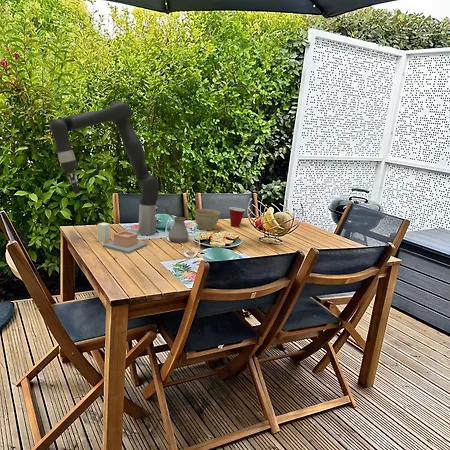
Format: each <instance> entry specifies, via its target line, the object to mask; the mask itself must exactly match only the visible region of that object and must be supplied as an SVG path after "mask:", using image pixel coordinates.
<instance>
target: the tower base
mask: <svg viewBox="0 0 450 450" xmlns="http://www.w3.org/2000/svg"><path fill="white" fill-rule="evenodd" d="M138 234H139V233H136V232H132V231H129V230H121V231H118V232H116V233H113V240H112V241H111V240H110V241H109V242H106V243H102V248H104V247H105V249H109V250H111V251H112V250H113V251H117V252H120V253H125V254H129V255H130V254H131V253H133V252H136V251H138V250H140V249H143V248H145V247H147V246H148V243H147V242H143V241H140V240H138Z"/></svg>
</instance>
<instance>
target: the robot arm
mask: <svg viewBox="0 0 450 450" xmlns="http://www.w3.org/2000/svg"><path fill="white" fill-rule="evenodd" d="M131 112H132V110H131V106H129V104H128V103H126V102H123V101H122V100H121V101H120V100H115V101H113V102H111V103H110V105H109V107H105V108H102V109H98V110H92V111H85V112H80V113H76V114H73V115H69V116H67V117H62V118H55V119H53V120H52V121H50V123H49V126H48V127H49V131H50V132H51V134H52V136H53V139H54V146H55V148H56V149H55V150H56V153H57V157H58V161H59V165H60V167H61V171H62V172H64V173H65V172H68V174H67V178H68V180H69V183H70V185H71V186H72V188H73V189H72V190H73V192H74V194H75V195H77V194H79V193H80V189H79V186H78V178H77V173H76V172H75V170H77V169H79V166H78V163H77V160H76V155H75V153H74V151H73V147H72V144H71V141H70V138H69V133H68V132H72V131H76V130H81V129H85V128H88V127H92V126H95V125H98V124H103V123H109V122H114V124H115V126H116V128H117V130H118V133H119V135H120V139H121V142H122V145H123V148H124V150H125V152H126V155H127V158H128V159H129V162H130V164H131V166H132V168H133V171H134V174H135V178H136V181H137V185H138V187H139V188H140V189H141V191H142V197H141V198H140V199H139V206H138V208H139V209H138V211H139V213H138V233H137V234H139V235H143V236H152V235H155V234H157V221H158V220H157V214H156V207H157V201H158V199H159V188H160V184H159V180H158V179H157V177H154V176H152V175H151V174H150V172H149V170H148V168H147V164H146V153H145V150H144V147H143V143H142V141H141V139H140V137H139V136H138V134H137V132H136V131H135V129H134V128H133V126H132V124H131V122H130V118H129V117H130V116H131V114H132V113H131ZM155 215H156V217H155Z"/></svg>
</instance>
